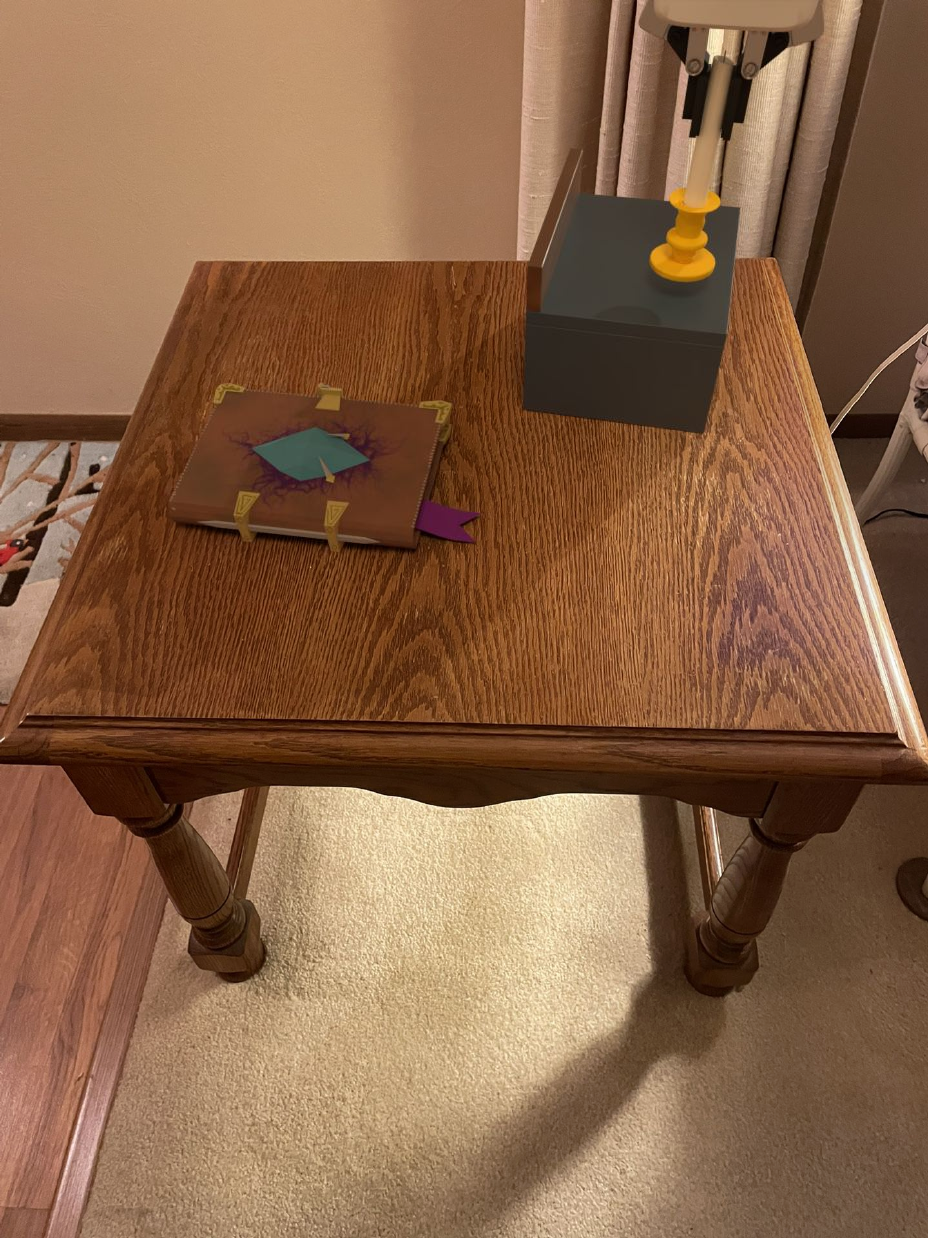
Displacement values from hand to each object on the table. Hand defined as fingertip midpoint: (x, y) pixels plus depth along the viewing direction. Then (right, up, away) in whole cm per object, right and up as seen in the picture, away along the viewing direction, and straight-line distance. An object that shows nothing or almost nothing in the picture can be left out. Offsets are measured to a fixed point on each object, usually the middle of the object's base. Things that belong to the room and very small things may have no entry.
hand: (710, 128), depth 63 cm
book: (-28, -24, +11) cm, 38 cm away
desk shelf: (-2, -10, +21) cm, 23 cm away
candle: (0, -7, +8) cm, 11 cm away
